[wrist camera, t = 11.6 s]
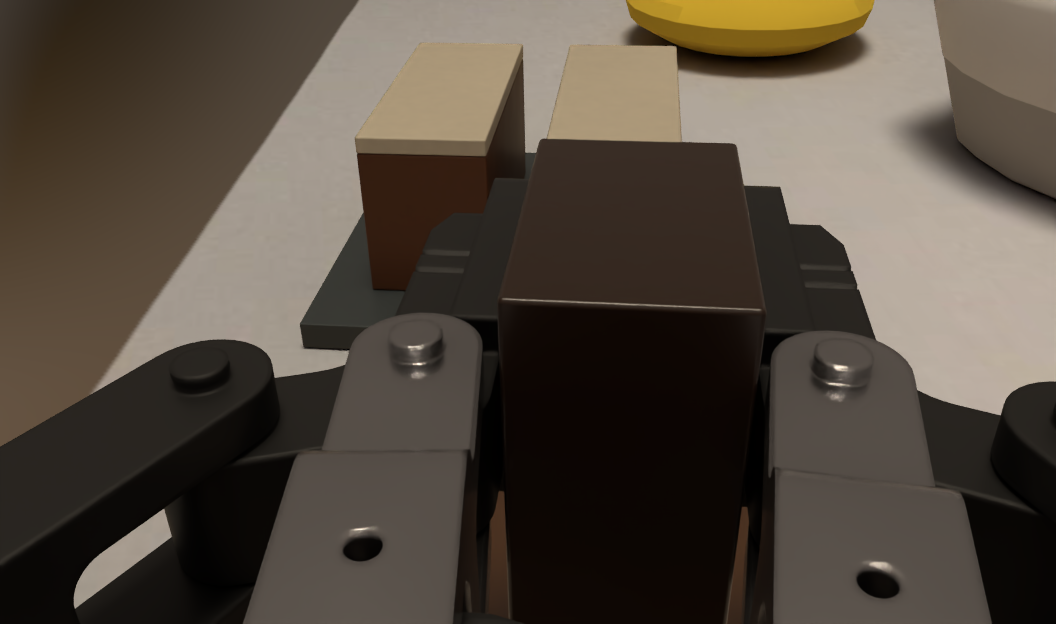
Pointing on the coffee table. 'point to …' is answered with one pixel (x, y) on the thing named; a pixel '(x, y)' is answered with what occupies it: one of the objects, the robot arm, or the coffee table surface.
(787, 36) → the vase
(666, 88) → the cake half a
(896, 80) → the coffee table surface
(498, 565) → the knife block
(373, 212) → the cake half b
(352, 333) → the cake board
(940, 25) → the bowl
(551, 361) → the knife
